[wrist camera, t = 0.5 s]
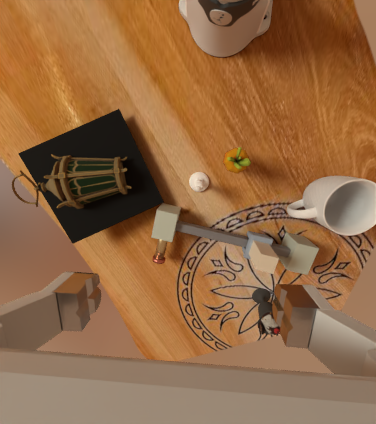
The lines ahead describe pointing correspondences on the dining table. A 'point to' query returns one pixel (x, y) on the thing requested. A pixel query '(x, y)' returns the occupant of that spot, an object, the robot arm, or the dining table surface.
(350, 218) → the mug
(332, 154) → the dining table surface
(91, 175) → the lantern
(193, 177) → the chess piece
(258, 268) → the carriage
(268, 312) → the sundae
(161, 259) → the cylinder
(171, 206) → the guide rail
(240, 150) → the carrot
